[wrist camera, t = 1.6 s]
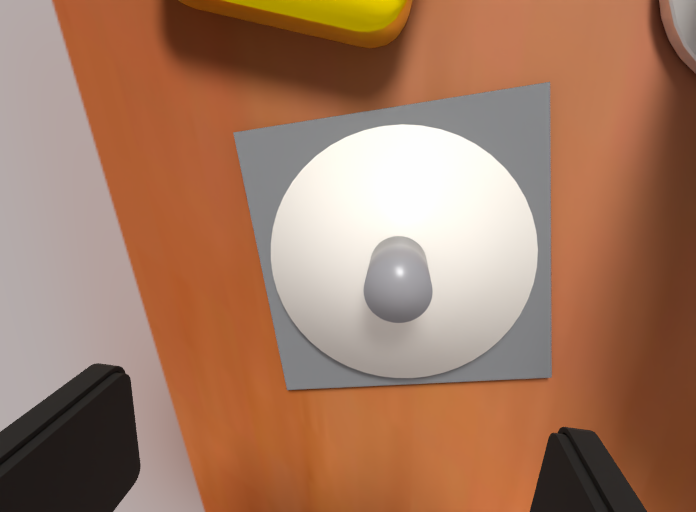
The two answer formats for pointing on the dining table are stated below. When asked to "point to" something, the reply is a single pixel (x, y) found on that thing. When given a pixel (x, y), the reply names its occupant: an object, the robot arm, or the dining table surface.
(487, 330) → the lid
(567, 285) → the dining table surface
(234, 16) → the element tile
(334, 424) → the dining table surface
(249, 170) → the mat
